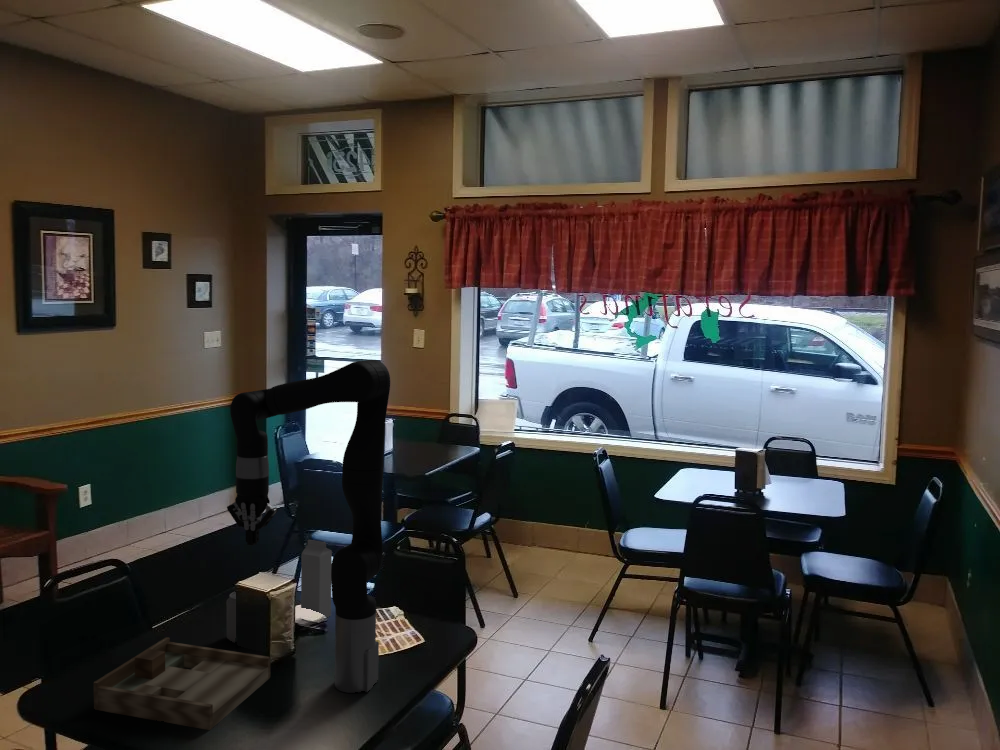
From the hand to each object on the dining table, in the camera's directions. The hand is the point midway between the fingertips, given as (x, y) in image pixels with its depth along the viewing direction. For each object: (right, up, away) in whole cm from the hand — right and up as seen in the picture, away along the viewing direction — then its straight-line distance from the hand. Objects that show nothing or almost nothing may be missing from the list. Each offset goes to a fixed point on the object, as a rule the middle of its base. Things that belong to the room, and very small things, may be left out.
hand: (252, 544), depth 194 cm
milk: (+9, -27, +29) cm, 41 cm away
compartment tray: (-10, -30, -14) cm, 35 cm away
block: (-19, -27, -12) cm, 35 cm away
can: (-7, -28, +15) cm, 32 cm away
